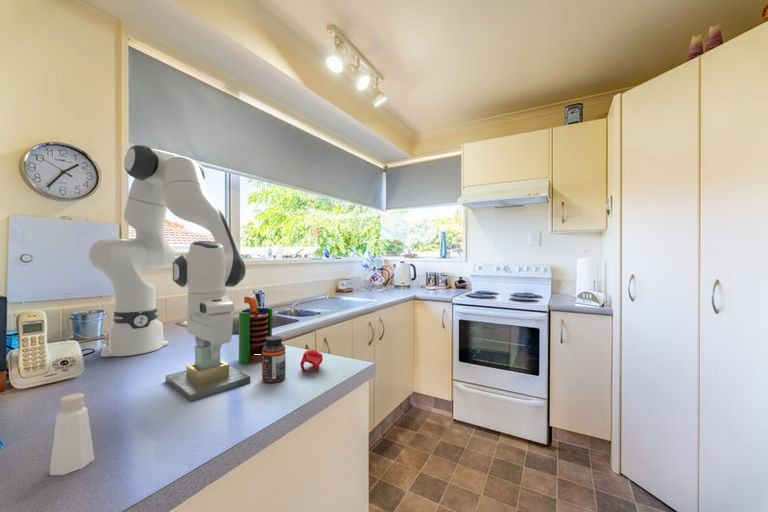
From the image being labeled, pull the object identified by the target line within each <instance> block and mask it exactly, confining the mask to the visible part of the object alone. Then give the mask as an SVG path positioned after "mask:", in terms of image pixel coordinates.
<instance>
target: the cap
mask: <svg viewBox="0 0 768 512" xmlns="http://www.w3.org/2000/svg"><path fill="white" fill-rule="evenodd" d="M323 359H324V358H323V354H322V353H320V352H319V351H317V350H315V349H308V350H306V351H305V352H304V353H303V354H302V358H301V360H300V364H299V365H300V368H301V370H302V372H305V371H306V368H305V366H304V365H305V363H308V364H310V365H312V366H313V367H314V369H315V371H316V373H319V371H320V369H319V366H320V365H321V364H322V363H323Z"/></svg>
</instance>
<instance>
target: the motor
mask: <svg viewBox="0 0 768 512" xmlns="http://www.w3.org/2000/svg"><path fill="white" fill-rule="evenodd" d="M256 299H257V298H256V297H255V296H253V295H250V296H244V297H243V300H244V301H243V303H244V304H248V305H249V307H248V308H244V309H240V310H239V312H238V313H239V314H238V362H239V363H241V364H243V365H249V364H250V363H249V362H256V363H259V362H258V361H262V349H263V347H264V346H265V345H266V338H267V337H270V336H273V308H271V307H258V306H257V300H256ZM254 354H261V355H254Z"/></svg>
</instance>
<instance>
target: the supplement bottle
mask: <svg viewBox="0 0 768 512" xmlns="http://www.w3.org/2000/svg"><path fill="white" fill-rule="evenodd" d="M285 378H286V345H285V344H284V343H283V339H282V336H280V335H272V336H270V337H267V338H266V345H265V346H264V347H263V349H262V362H261V379H262V382H264V383H267V384H273V383H279V382H281V381H283V380H285Z"/></svg>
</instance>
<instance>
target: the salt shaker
mask: <svg viewBox="0 0 768 512" xmlns="http://www.w3.org/2000/svg"><path fill="white" fill-rule="evenodd" d="M84 398H85V394H84V393H79V392H78V393H71V394H68V395H65V396H63V397H61V398H60V399H59V404H60V405H59V406H60V412H59V413H57V414H56V419H55V424H54V425H55V426H54V433H53V435H54V436H53V441H52V442H53V443H52V449H51V457H50V458H51V459H50V465H49V475H50V476H66V475H68V473H69V474H72V473H73V471H74V472H76V470H77V471H80V470H82V469H84V468H85V467H87V466H88V465H89V464H90V462H91V463H92V462H93V461H94V460H95V452H94V446H93V439H92V433H91V432H92V431H91V426H90V425H91V423H90V418H89V411H88V407H86V406H84V404H85V402H84V401H85V399H84ZM86 465H87V466H86ZM79 469H80V470H79ZM71 472H72V473H71ZM65 474H66V475H65Z"/></svg>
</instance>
